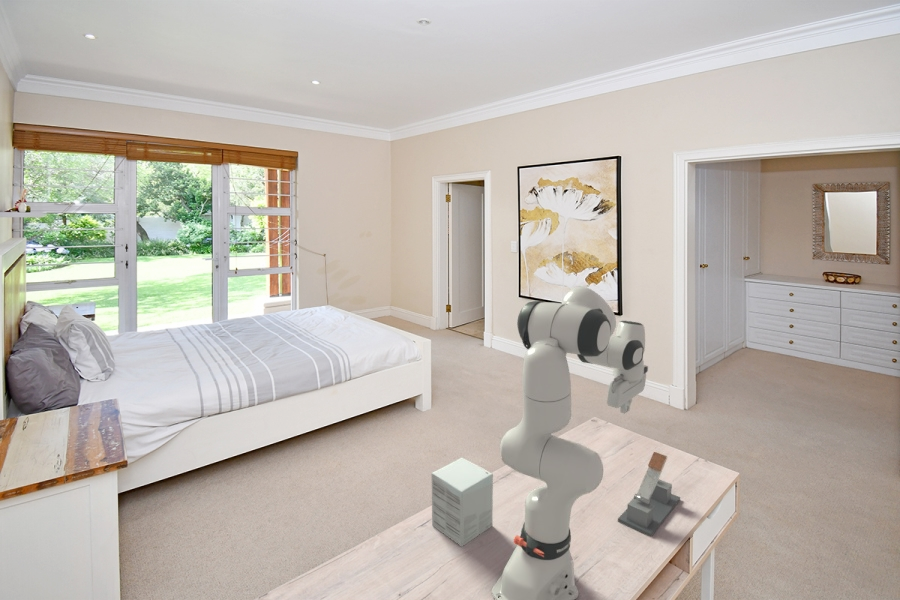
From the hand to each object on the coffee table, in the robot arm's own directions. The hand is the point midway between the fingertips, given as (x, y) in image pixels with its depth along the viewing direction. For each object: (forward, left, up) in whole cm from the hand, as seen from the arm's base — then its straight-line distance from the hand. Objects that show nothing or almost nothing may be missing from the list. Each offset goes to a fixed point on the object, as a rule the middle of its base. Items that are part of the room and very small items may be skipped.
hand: (624, 411), depth 151 cm
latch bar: (-3, -11, -18) cm, 21 cm away
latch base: (-2, -11, -29) cm, 31 cm away
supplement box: (-48, +27, -29) cm, 62 cm away
